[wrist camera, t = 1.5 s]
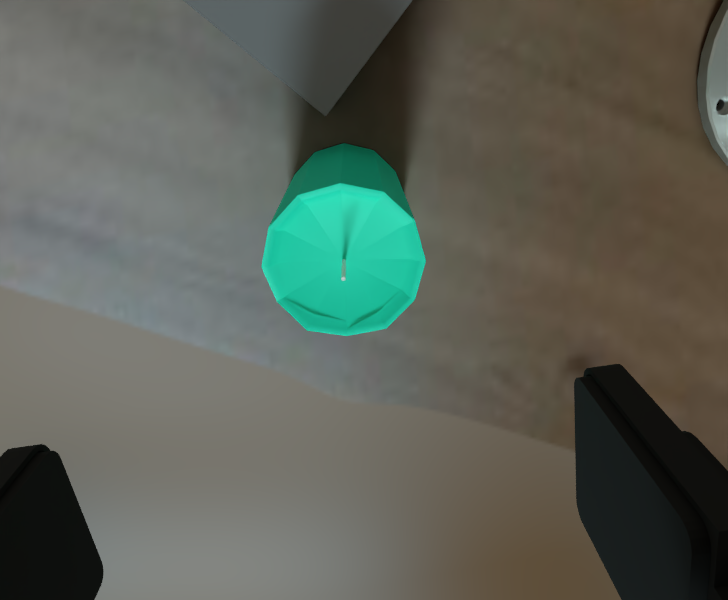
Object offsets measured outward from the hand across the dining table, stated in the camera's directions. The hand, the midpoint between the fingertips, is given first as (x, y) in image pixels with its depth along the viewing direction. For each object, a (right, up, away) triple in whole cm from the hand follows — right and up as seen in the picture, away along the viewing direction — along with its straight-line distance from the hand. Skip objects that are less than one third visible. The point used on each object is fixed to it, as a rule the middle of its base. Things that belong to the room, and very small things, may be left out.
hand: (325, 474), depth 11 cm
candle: (0, +8, +21) cm, 23 cm away
